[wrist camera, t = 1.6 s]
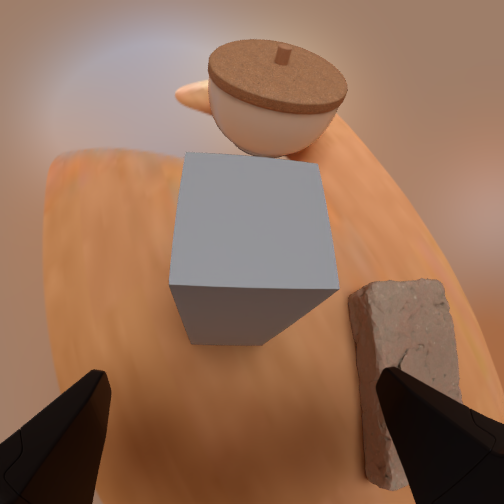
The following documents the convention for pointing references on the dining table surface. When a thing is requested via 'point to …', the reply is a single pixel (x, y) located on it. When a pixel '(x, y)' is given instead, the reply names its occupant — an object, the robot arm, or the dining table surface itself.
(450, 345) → the brick
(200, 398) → the dining table surface
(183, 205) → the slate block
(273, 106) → the lidded bowl
